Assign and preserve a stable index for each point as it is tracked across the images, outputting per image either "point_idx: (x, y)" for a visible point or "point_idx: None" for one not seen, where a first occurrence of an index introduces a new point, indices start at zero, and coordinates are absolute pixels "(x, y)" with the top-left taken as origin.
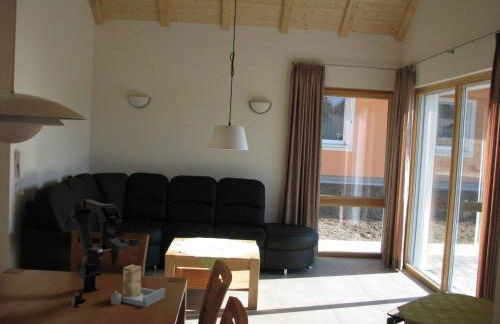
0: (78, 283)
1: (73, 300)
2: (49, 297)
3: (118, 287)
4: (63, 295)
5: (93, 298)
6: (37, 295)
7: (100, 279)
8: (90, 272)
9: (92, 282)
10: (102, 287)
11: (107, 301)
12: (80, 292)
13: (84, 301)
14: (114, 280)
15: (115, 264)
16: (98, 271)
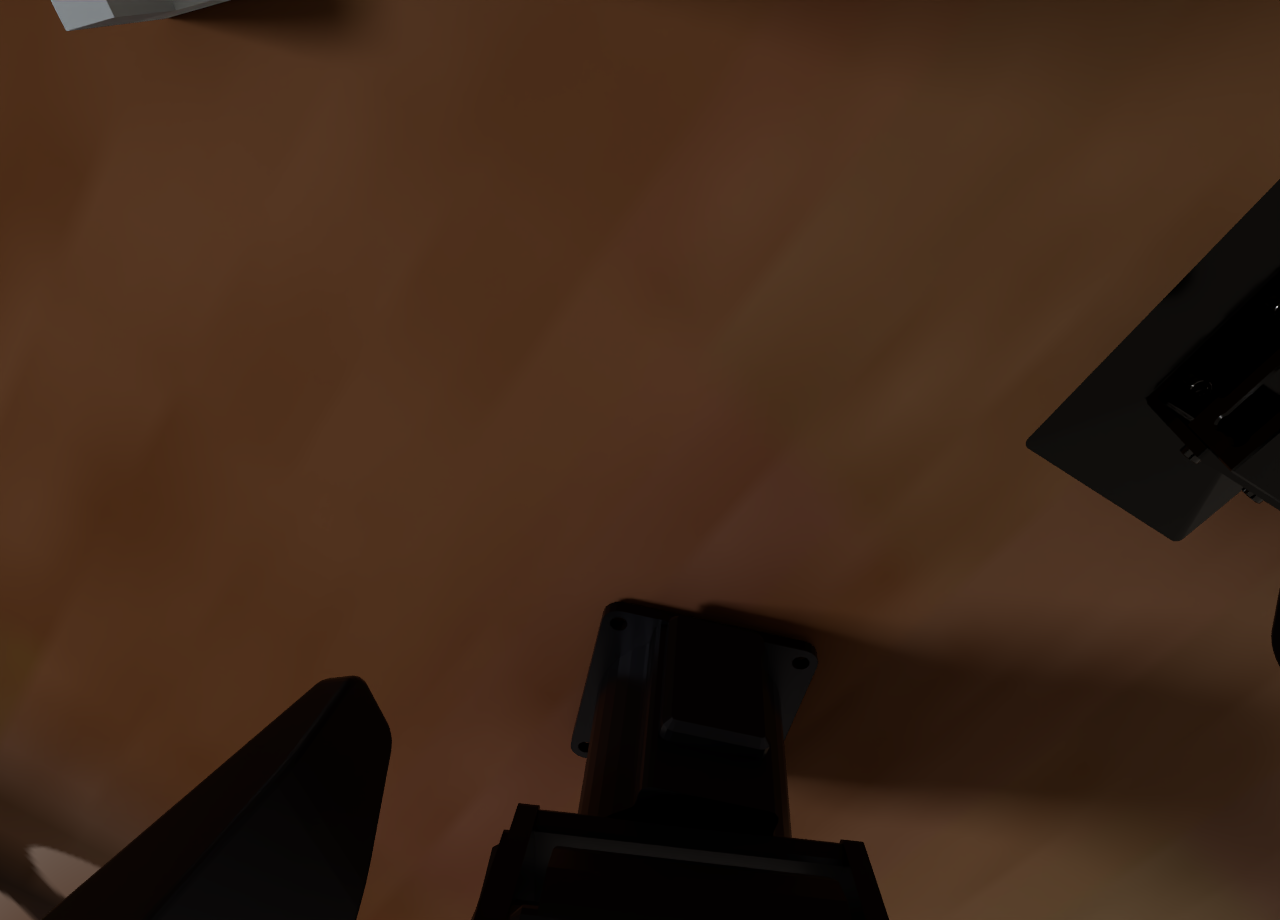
0: None
1: (1194, 501)
2: (1235, 787)
3: (309, 500)
4: (1076, 737)
5: (917, 369)
6: (1243, 902)
7: None
8: (812, 900)
9: (723, 719)
10: (503, 644)
11: (874, 34)
12: (1257, 485)
13: (1131, 349)
14: (231, 734)
15: (288, 709)
16: (607, 865)
